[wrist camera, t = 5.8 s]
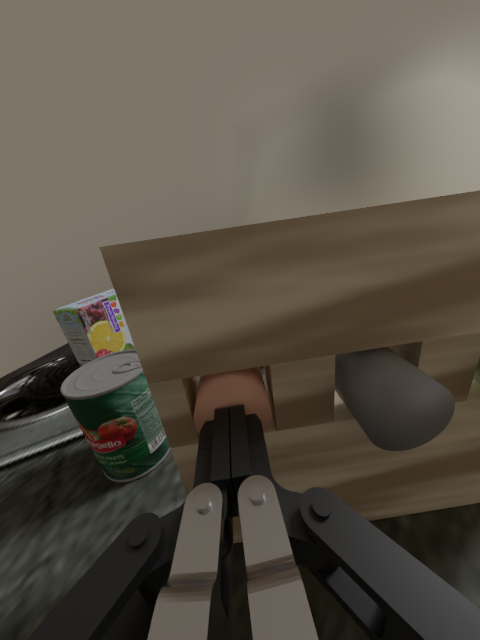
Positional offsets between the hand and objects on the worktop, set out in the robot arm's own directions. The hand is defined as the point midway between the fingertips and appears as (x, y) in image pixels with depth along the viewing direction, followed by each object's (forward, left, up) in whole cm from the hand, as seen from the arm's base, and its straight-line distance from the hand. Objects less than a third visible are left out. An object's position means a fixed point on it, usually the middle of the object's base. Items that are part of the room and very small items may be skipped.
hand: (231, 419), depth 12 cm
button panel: (+10, 0, -13) cm, 16 cm away
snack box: (+3, +39, -13) cm, 41 cm away
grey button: (+7, -4, -2) cm, 8 cm away
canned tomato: (-4, +16, -13) cm, 21 cm away
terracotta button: (+1, +2, -2) cm, 3 cm away
